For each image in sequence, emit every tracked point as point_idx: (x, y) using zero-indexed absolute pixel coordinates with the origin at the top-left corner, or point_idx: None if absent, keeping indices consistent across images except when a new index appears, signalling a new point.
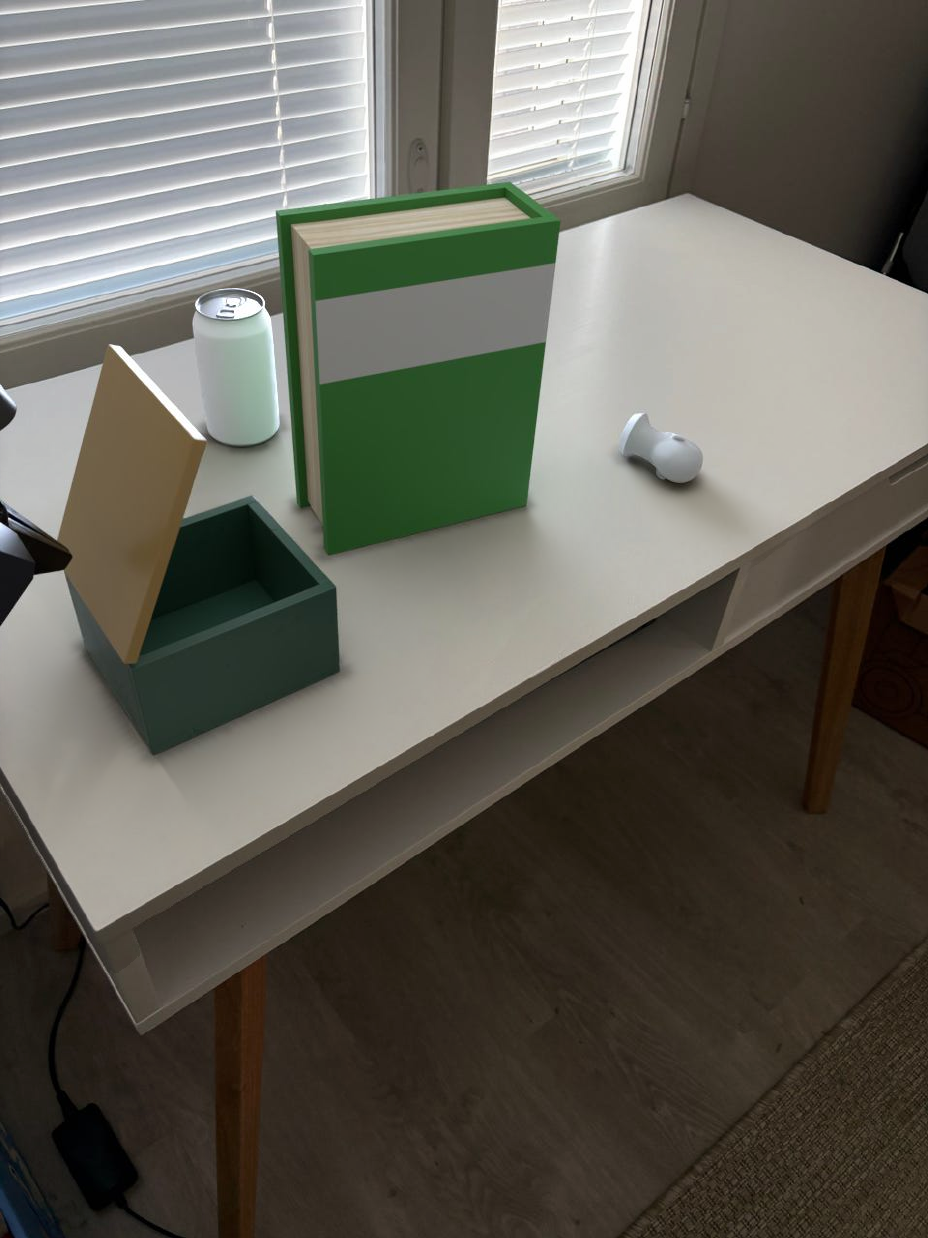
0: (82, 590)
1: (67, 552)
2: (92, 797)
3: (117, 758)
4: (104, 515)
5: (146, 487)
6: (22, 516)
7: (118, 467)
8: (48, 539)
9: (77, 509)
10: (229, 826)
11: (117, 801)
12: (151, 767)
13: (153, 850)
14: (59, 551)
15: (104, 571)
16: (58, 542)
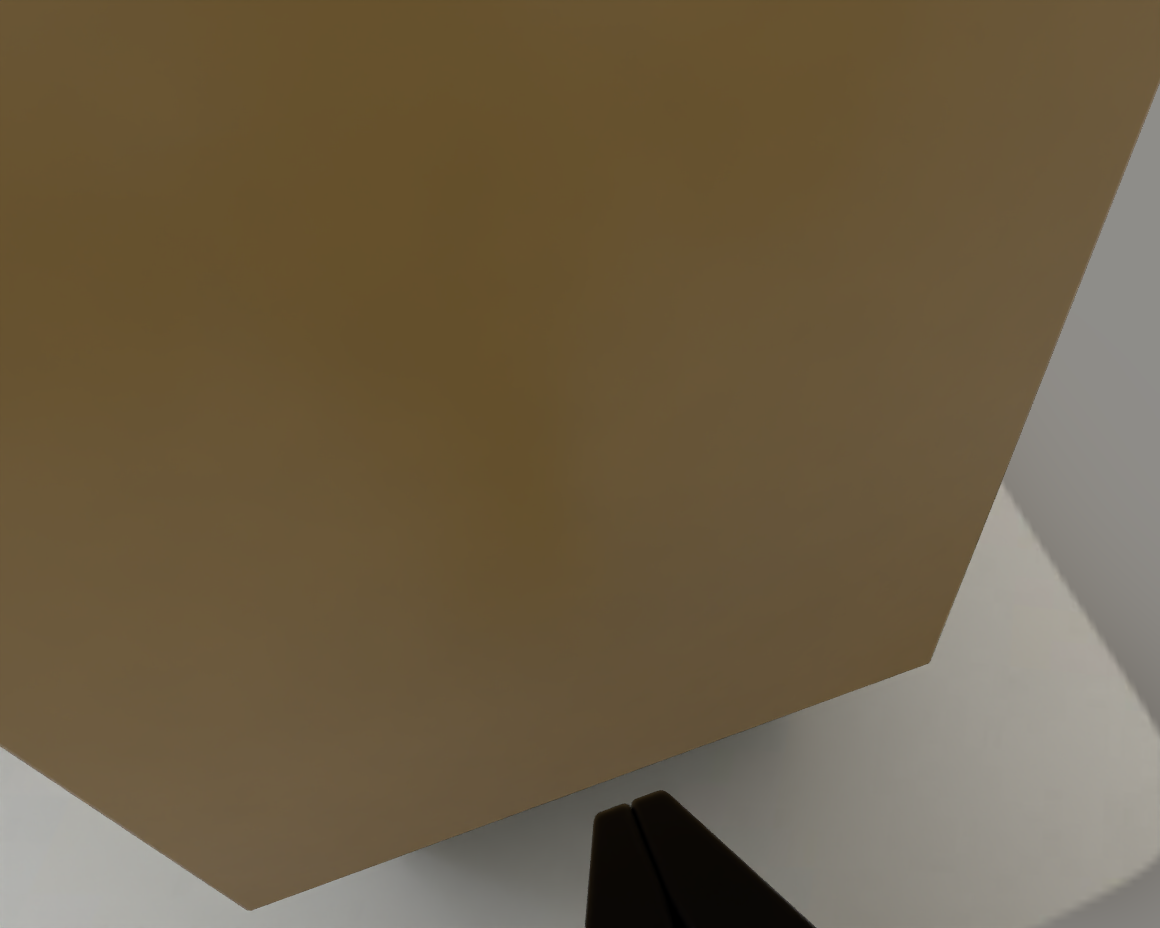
0: (546, 789)
1: (682, 812)
2: (889, 835)
3: (780, 768)
4: (484, 581)
5: (837, 118)
6: None
7: (403, 324)
8: (700, 921)
9: (229, 755)
10: (994, 549)
11: (907, 776)
12: None
13: (1045, 706)
14: (735, 854)
15: (652, 663)
16: (617, 861)
